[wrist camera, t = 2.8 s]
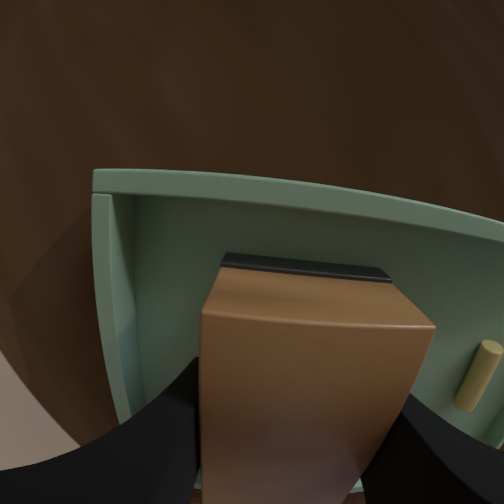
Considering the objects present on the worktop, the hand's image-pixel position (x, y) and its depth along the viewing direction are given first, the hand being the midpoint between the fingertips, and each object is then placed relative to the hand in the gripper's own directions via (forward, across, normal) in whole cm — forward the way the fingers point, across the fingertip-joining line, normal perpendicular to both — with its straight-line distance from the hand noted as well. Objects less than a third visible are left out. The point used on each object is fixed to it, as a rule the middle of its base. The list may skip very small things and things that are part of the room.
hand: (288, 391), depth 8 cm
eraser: (+1, 0, 0) cm, 1 cm away
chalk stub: (0, -8, 0) cm, 8 cm away
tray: (+1, -4, 0) cm, 4 cm away
